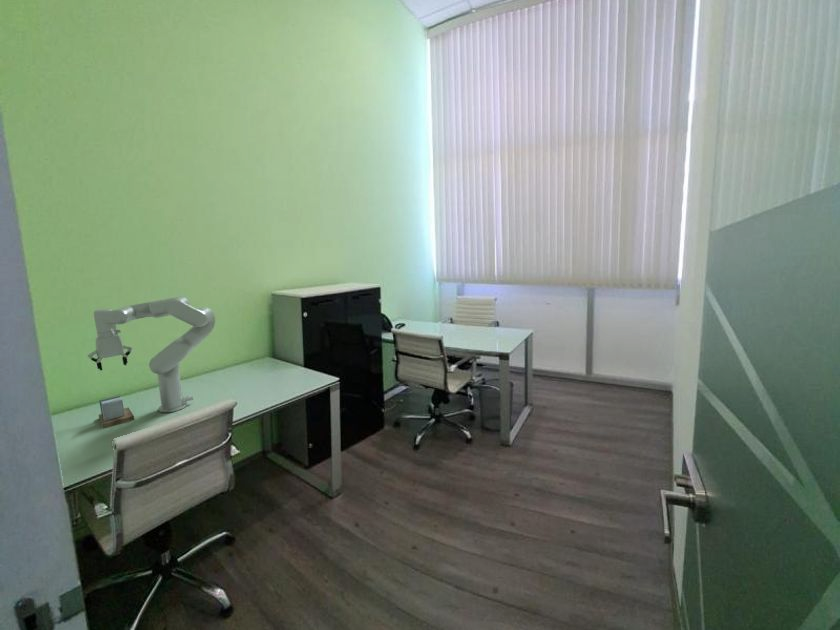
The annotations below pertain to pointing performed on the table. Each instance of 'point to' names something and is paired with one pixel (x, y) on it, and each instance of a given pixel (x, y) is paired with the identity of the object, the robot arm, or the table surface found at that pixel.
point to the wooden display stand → (118, 420)
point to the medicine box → (112, 408)
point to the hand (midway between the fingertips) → (113, 367)
